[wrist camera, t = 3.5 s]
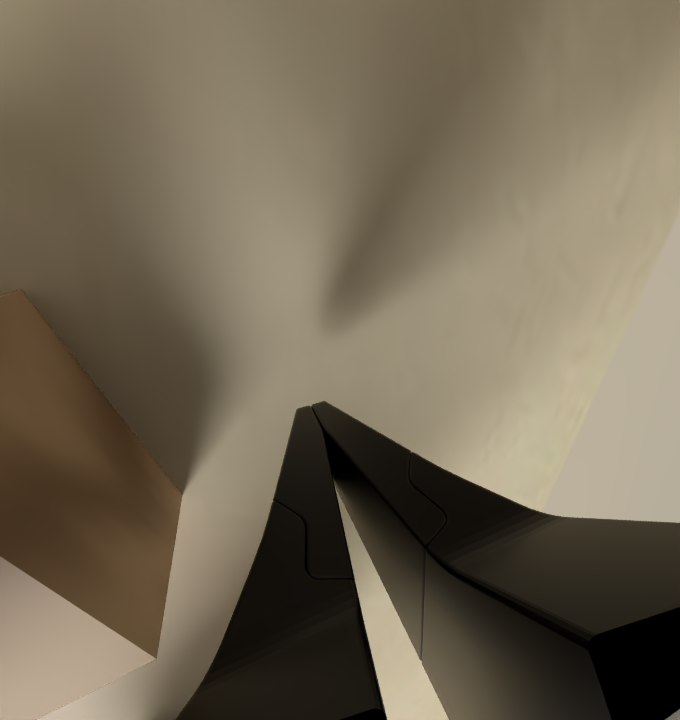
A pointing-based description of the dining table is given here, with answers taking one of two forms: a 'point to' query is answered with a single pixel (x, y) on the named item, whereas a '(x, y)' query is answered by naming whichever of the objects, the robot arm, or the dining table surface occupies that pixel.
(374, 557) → the robot arm
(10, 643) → the walnut block
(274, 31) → the dining table surface
